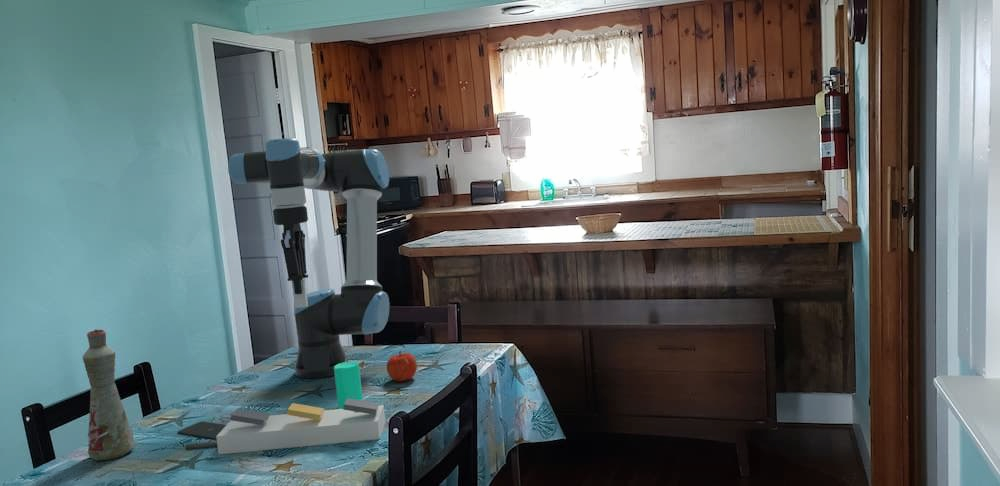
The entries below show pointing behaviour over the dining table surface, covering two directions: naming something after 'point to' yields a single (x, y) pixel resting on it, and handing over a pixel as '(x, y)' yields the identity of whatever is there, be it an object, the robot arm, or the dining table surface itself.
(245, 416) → the block
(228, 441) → the power strip
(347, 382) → the candle
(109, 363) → the bottle
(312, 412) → the rocker
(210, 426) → the smartphone
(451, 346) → the dining table surface
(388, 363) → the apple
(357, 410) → the block
